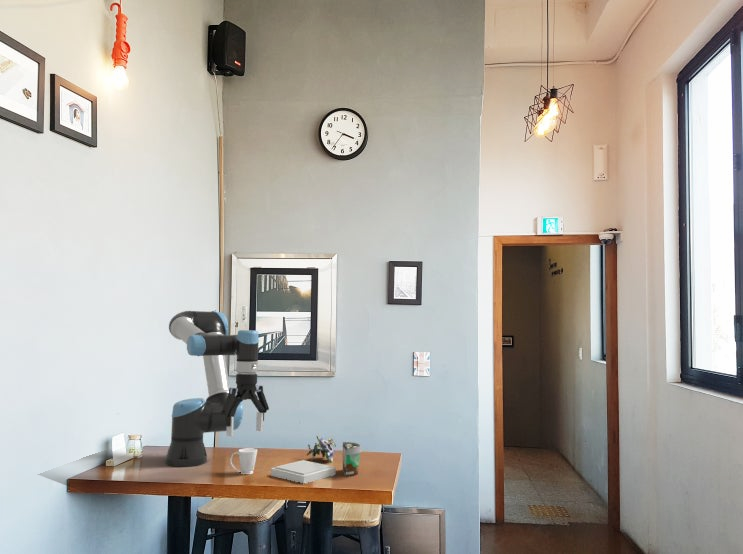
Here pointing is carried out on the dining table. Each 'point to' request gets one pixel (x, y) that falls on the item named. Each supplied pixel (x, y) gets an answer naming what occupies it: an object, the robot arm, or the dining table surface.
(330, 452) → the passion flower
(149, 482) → the dining table surface
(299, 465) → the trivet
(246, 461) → the cup
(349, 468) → the food container
